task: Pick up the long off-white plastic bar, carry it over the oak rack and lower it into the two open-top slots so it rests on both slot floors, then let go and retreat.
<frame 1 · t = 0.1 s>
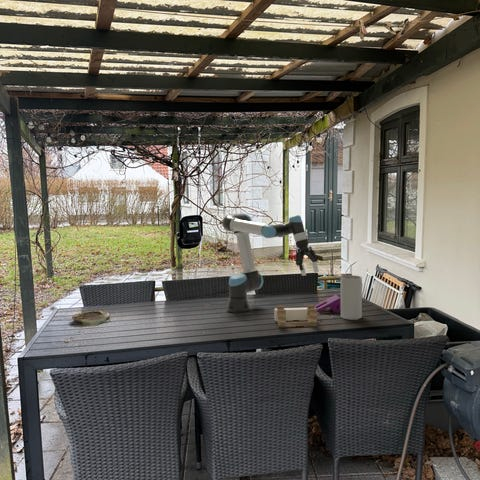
hand: (310, 274, 258), 28 cm above the table, tool tilted 20°, fingers open, 13 cm apart
mounting bracket: (327, 311, 277), on the table
rack: (296, 324, 250), on the table
bar: (294, 319, 260), on the table
cylinder vase: (351, 317, 261), on the table
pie: (89, 321, 269), on the table
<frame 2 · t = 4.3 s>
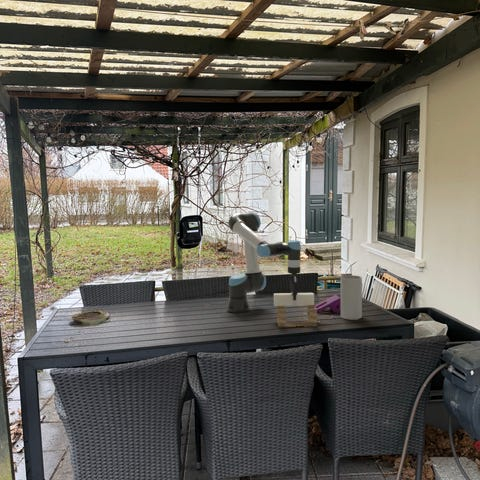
hand: (293, 304, 259), 10 cm above the table, tool pointing down, fingers closed on bar, 4 cm apart
bar: (293, 305, 259), point 9 cm above the table, touching gripper
everything else where it was.
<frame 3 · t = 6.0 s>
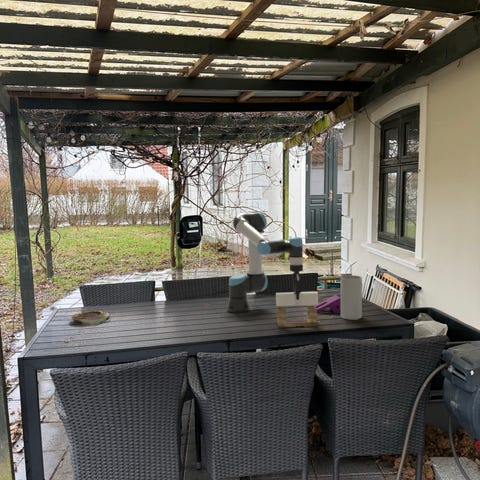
hand: (296, 303, 249), 12 cm above the table, tool pointing down, fingers closed on bar, 4 cm apart
bar: (297, 304, 249), point 12 cm above the table, touching gripper
everything else where it was.
when the fingers open (3 cm above the table, at t = 7.8 s): bar stays where it is, resting on rack.
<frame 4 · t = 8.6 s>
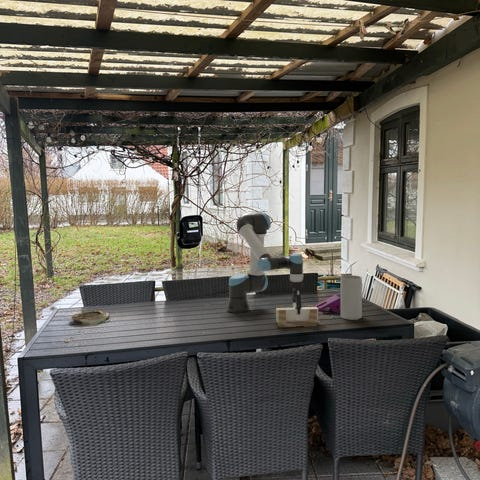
hand: (296, 316, 250), 5 cm above the table, tool pointing down, fingers open, 13 cm apart
bar: (297, 320, 250), point 2 cm above the table, touching rack
everything else where it was.
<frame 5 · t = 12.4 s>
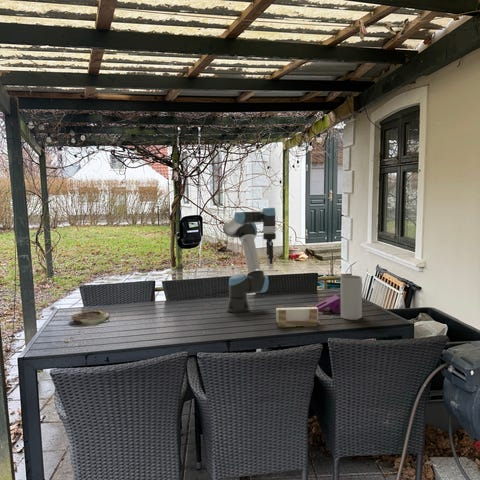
hand: (270, 267, 262), 32 cm above the table, tool pointing down, fingers open, 13 cm apart
nothing on the table moved.
at the end: bar 0.1 cm off-centre on the rack, point 2.5 cm above the rack's base; bar tilted 0°; the gripper is holding nothing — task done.
